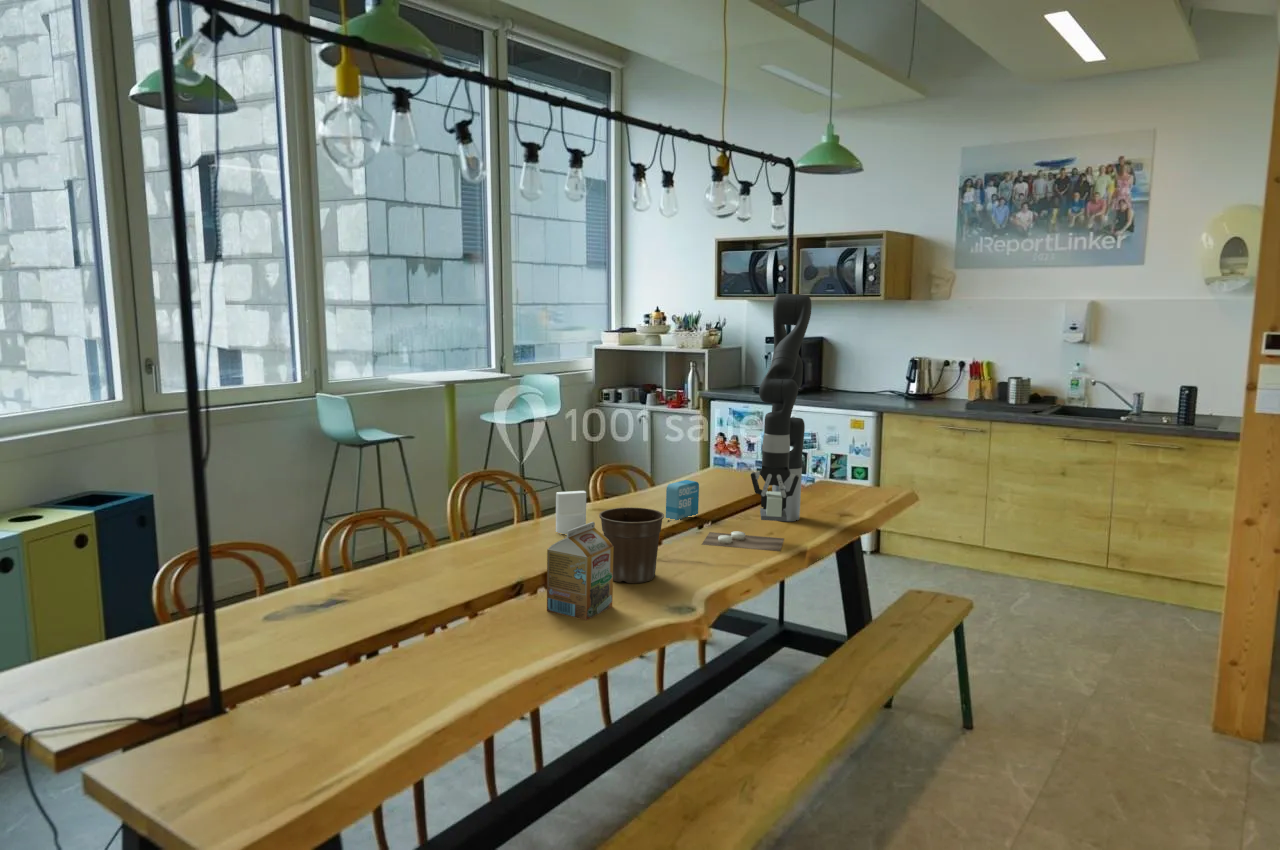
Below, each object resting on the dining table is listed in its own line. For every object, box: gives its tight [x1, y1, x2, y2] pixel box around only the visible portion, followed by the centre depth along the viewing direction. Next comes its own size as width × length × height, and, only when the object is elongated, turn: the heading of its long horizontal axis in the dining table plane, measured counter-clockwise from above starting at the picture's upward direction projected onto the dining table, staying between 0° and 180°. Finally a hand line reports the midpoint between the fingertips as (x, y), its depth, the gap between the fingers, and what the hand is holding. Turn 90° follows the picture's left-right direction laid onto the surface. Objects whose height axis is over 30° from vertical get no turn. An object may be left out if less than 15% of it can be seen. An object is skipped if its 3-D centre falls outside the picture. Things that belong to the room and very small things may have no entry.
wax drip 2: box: [730, 530, 746, 540], centre depth 250 cm, size 4×4×2 cm
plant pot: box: [598, 507, 665, 584], centre depth 216 cm, size 16×16×16 cm
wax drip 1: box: [718, 535, 732, 544], centre depth 246 cm, size 4×4×2 cm
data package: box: [665, 479, 700, 520], centre depth 277 cm, size 12×4×12 cm, turn 141°
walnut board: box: [701, 531, 785, 552], centre depth 247 cm, size 14×22×2 cm, turn 76°
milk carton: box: [546, 521, 614, 621], centre depth 192 cm, size 11×10×19 cm
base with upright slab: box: [555, 490, 587, 534], centre depth 259 cm, size 9×9×12 cm
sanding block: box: [759, 490, 788, 522], centre depth 244 cm, size 10×7×6 cm
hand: (773, 509), depth 244 cm, fingers closed on sanding block, 4 cm apart
